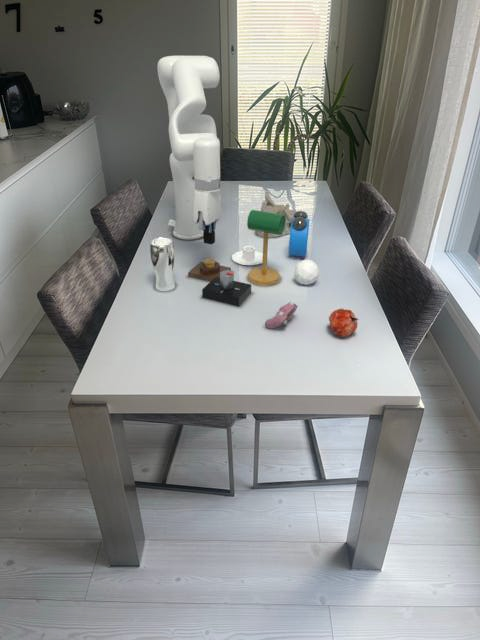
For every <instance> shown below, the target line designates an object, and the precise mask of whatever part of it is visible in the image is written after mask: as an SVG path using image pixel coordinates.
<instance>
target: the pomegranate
mask: <svg viewBox="0 0 480 640" xmlns="http://www.w3.org/2000/svg"><path fill="white" fill-rule="evenodd" d="M359 320H360V319H359V318H357V317H356V315H355V313H354V312H353V311H352V310H351V309H344V308H339V309H335V310H333V311H332V312H331V313H330V314H329V317H328V321H329V328H330V329H331V330H332V332H333V333H334V335H336V336H338V337H343V338H344V337H348V336H350V335H351V334H353V333H355V331H356V330H357V328H358V321H359Z"/></svg>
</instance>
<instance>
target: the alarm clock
mask: <svg viewBox="0 0 480 640" xmlns="http://www.w3.org/2000/svg"><path fill="white" fill-rule="evenodd" d="M308 215H309V214H308V213H307V212H306V211H304V210H302V209H301V210H296V213H295V214H294V217H295V218H292V222H291V230H290V233H289V242H288V256H293V257H302V260H304V257H306V256H307V250H308V240H309V229H310V218H308V217H309V216H308Z"/></svg>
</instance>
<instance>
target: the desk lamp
mask: <svg viewBox="0 0 480 640" xmlns="http://www.w3.org/2000/svg"><path fill="white" fill-rule="evenodd" d="M246 220H247V222H246V226H247V229H248V230H249V231H254V232H256V231H260V232H264V237H262V238H263V241H262V253H263V262H262V263H261V266H260V267H255V268H252V269H251V270H250V271H248V277H247V278H248V282H250V283H252V284H254V285H257V286H260V287H266V286H268V287H269V286H270V287H271V286H274V285H276V284H278V283H279V282H280V278H281V277H280V276H281V274H280V272H279V271H278V270H276V269H275V268H272V267H268V249H269V248H268V244H269V238H268V233H271V234H276V235H282V233H283V231H284V228H285V222H286V218H285V215H282V214H276V213H270V212H264V211H261V210H257V209H251V210H250V211H249V213H248V215H247V219H246ZM282 236H283V235H282Z"/></svg>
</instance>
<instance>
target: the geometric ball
mask: <svg viewBox="0 0 480 640" xmlns="http://www.w3.org/2000/svg"><path fill="white" fill-rule="evenodd" d="M293 274H294V278H295V280H296V281H297V282H298V283H299V284H300V285H305V286H308V285H312V284H313V283H315V282H316V281H317V279H319V275H320V269H319V266H318V264H317V263H315V262H314V261H313V260H311V259H303V260H301V261H299V262H298V263H297V264H296V265H295V266H294V269H293Z"/></svg>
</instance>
